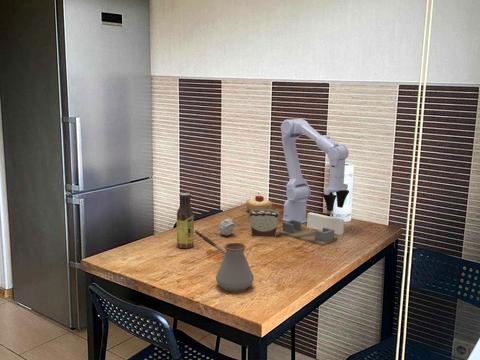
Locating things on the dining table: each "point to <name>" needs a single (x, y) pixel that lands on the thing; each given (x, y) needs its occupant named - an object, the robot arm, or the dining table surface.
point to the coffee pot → (232, 267)
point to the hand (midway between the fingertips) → (334, 209)
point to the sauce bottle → (185, 222)
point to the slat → (325, 222)
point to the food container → (264, 222)
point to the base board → (306, 236)
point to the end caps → (319, 235)
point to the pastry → (258, 203)
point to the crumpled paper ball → (226, 227)
